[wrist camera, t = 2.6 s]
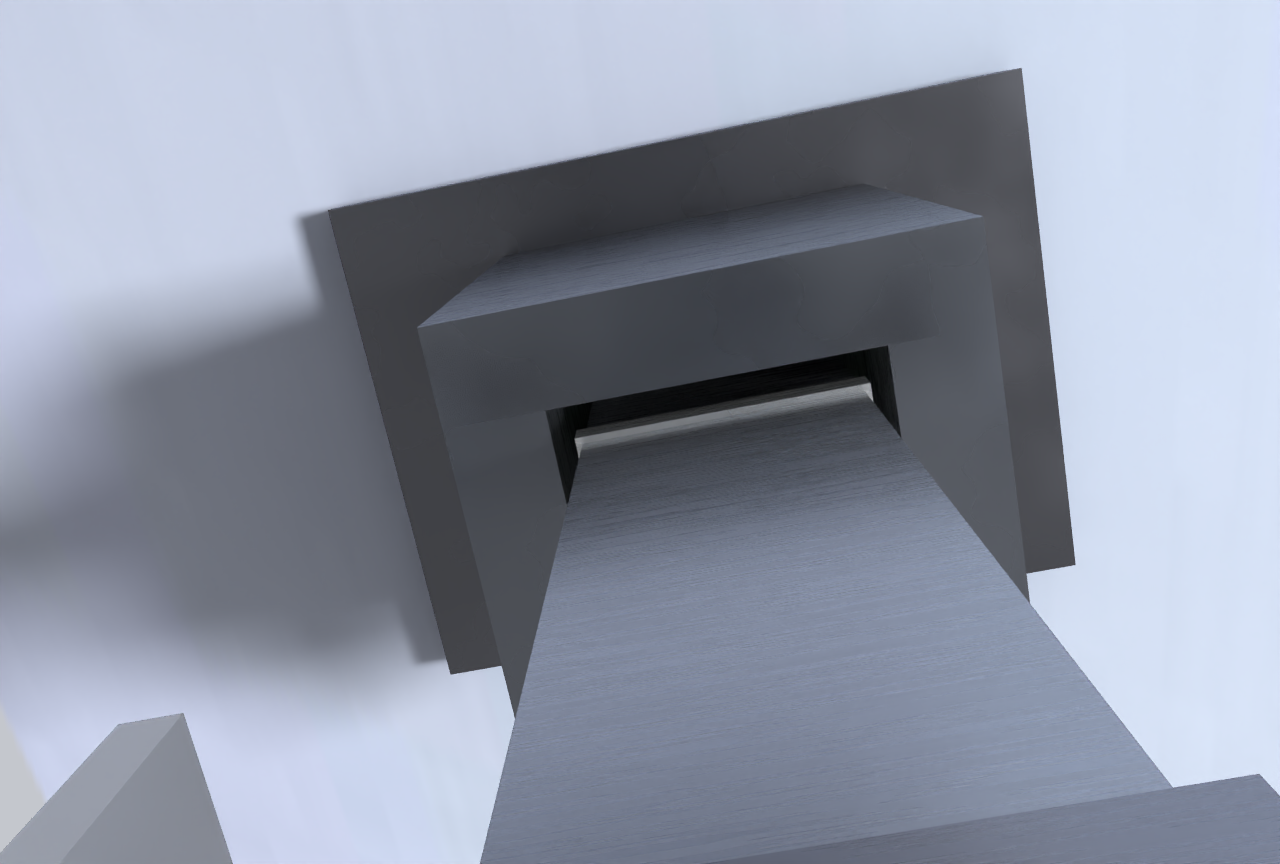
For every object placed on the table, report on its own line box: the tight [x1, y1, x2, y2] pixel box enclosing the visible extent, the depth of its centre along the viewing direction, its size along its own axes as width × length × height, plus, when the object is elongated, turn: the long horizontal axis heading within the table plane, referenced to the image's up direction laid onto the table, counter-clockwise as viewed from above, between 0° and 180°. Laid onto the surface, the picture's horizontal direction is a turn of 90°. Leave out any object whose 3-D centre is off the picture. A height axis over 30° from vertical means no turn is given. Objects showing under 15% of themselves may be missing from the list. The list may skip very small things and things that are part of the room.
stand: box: [328, 68, 1075, 718], centre depth 23 cm, size 12×16×11 cm
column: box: [480, 355, 1280, 864], centre depth 17 cm, size 5×5×22 cm
